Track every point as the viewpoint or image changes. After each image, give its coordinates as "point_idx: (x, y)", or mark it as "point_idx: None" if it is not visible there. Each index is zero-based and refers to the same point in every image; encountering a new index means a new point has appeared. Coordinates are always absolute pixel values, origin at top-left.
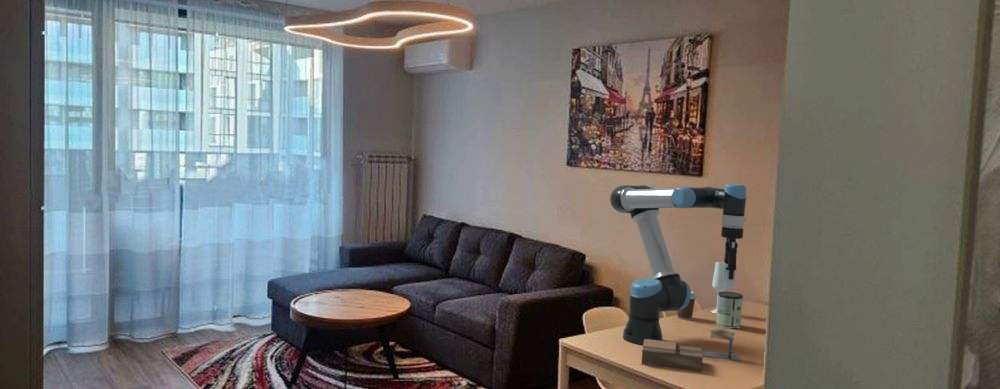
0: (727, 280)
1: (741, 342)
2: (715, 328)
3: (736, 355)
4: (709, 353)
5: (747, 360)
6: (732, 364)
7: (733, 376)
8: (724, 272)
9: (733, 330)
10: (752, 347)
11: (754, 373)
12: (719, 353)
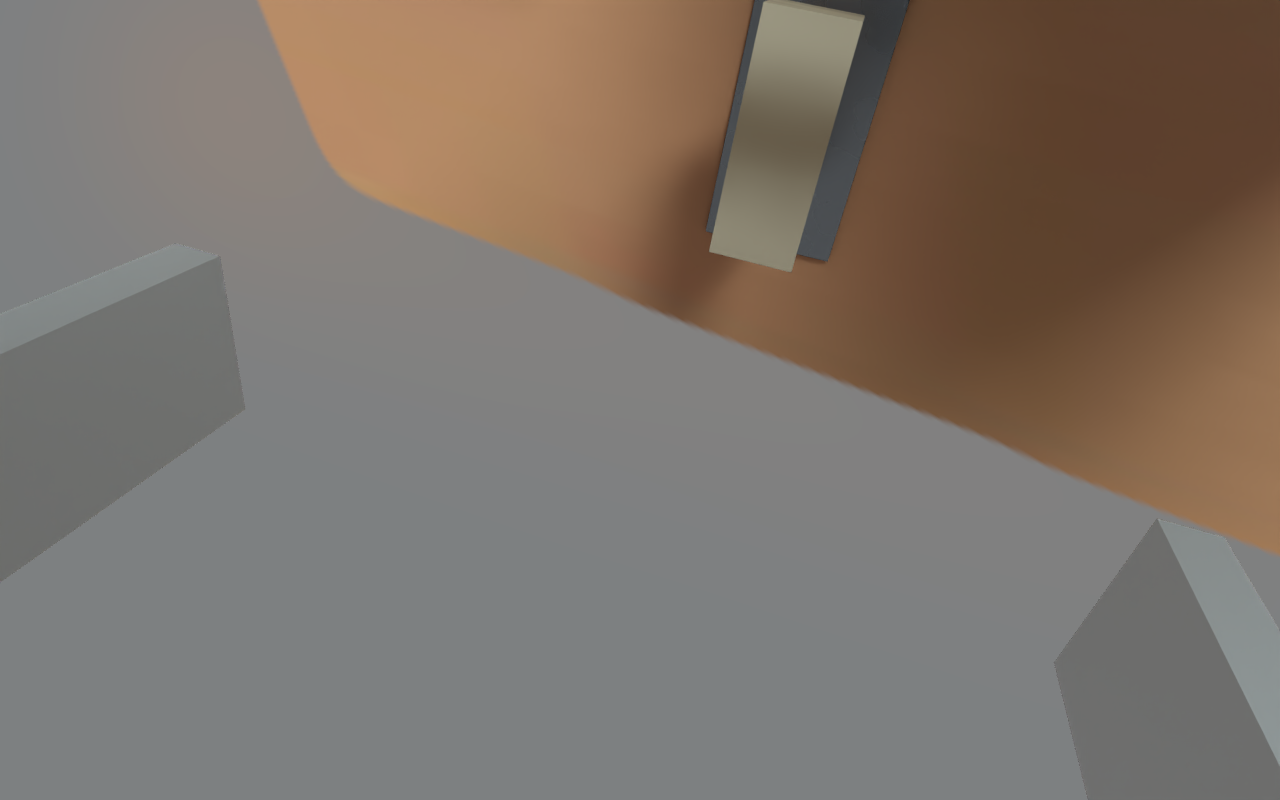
0: (2, 343)
1: (1246, 424)
2: (838, 76)
3: (820, 240)
4: (849, 4)
5: (730, 286)
6: (607, 138)
7: (349, 60)
8: (1262, 782)
9: (783, 267)
10: (1082, 450)
11: (462, 231)
12: (859, 107)
